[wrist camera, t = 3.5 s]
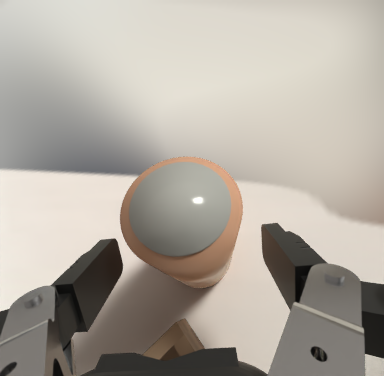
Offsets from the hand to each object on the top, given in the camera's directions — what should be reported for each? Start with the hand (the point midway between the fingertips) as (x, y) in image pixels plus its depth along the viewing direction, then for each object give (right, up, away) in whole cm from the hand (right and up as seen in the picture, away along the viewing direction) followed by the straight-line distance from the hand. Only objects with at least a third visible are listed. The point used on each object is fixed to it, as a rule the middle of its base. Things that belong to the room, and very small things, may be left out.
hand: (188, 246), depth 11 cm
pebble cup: (+1, -3, +7) cm, 7 cm away
